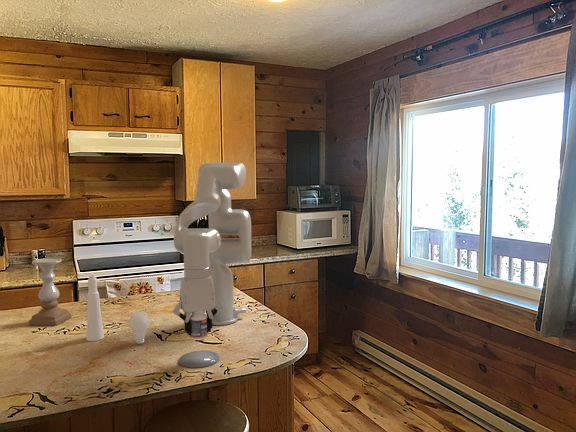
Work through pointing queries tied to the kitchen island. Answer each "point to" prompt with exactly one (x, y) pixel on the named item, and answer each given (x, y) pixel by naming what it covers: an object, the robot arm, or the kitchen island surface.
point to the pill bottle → (198, 325)
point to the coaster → (199, 359)
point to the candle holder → (48, 297)
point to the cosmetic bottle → (93, 312)
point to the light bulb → (139, 325)
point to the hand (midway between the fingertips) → (198, 331)
